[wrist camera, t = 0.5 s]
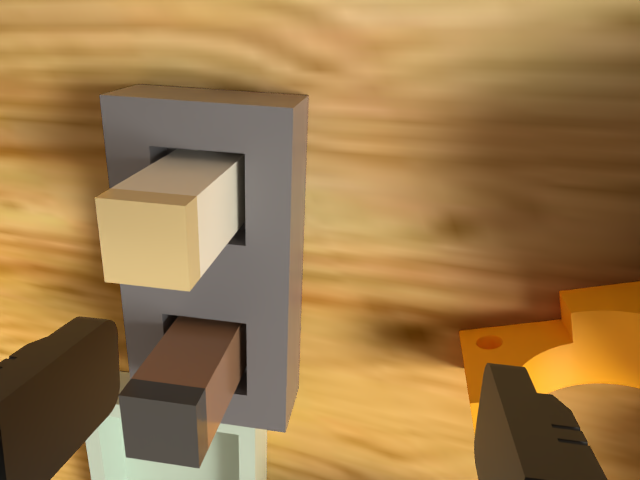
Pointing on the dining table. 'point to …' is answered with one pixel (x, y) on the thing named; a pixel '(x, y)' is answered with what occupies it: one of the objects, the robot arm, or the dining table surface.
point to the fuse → (171, 219)
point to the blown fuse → (183, 391)
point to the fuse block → (244, 247)
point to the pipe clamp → (564, 343)
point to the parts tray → (147, 476)
